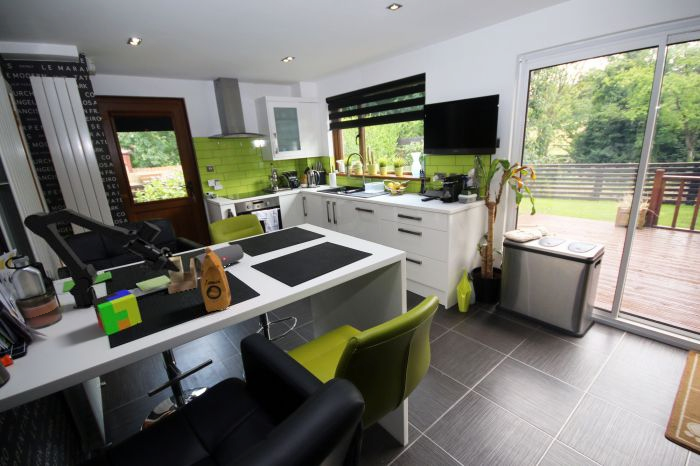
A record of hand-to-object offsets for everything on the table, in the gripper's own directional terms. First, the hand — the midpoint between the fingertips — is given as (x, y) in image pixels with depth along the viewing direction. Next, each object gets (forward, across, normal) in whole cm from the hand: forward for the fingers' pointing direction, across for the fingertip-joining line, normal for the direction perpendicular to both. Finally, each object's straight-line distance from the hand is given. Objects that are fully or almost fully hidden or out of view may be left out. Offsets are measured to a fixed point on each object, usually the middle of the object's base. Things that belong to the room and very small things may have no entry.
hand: (179, 269), depth 138 cm
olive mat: (-3, -9, -14) cm, 17 cm away
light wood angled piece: (+6, 0, -5) cm, 8 cm away
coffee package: (+15, +28, +4) cm, 32 cm away
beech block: (+3, 0, -5) cm, 6 cm away
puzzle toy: (-7, +25, -19) cm, 32 cm away
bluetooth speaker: (+18, -15, +6) cm, 24 cm away
